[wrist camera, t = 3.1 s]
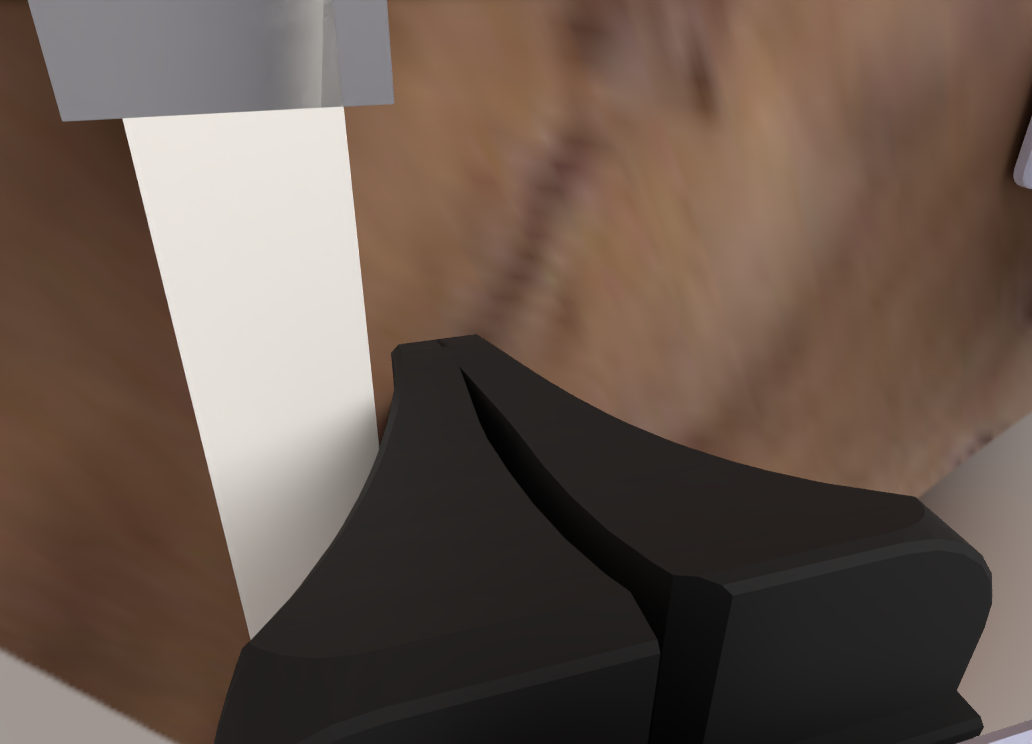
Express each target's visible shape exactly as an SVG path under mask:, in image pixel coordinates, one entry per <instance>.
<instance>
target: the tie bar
mask: <svg viewBox="0 0 1032 744" xmlns="http://www.w3.org/2000/svg"><path fill="white" fill-rule="evenodd" d="M28 3H29V7H30V10H31V14H32V17H33V21H34V24H35V28H36V31H37V35H38V38H39V42H40V45H41V49H42V52H43V56H44V59H45V63H46V66H47V70H48V73H49V77H50V80H51V84H52V87H53V91H54V94H55V98H56V101H57V105H58V108H59V112H60V115H61V119H62V122H63V121H82V120H101V119H120V118H122V119H123V123H124V127H125V131H126V135H127V139H128V143H129V147H130V151H131V155H132V159H133V163H134V168H135V172H136V176H137V180H138V184H139V188H140V192H141V196H142V200H143V204H144V208H145V212H146V216H147V220H148V224H149V229H150V233H151V237H152V241H153V245H154V249H155V253H156V257H157V261H158V265H159V269H160V273H161V277H162V281H163V285H164V290H165V294H166V298H167V302H168V306H169V310H170V314H171V318H172V322H173V326H174V330H175V334H176V338H177V342H178V346H179V351H180V355H181V359H182V363H183V367H184V371H185V375H186V379H187V383H188V387H189V391H190V395H191V399H192V403H193V407H194V412H195V416H196V420H197V424H198V428H199V432H200V436H201V440H202V444H203V448H204V452H205V456H206V460H207V464H208V468H209V473H210V477H211V481H212V485H213V489H214V493H215V497H216V501H217V505H218V509H219V513H220V517H221V521H222V525H223V529H224V534H225V538H226V542H227V546H228V550H229V554H230V558H231V562H232V566H233V570H234V574H235V578H236V582H237V586H238V590H239V595H240V599H241V603H242V607H243V611H244V615H245V619H246V623H247V627H248V631H249V635H250V639H252V638H253V637H254V636H255V635H256V634H257V633H258V632H259V631H260V630H261V629H262V628H263V627H264V625H265V624H266V623H267V622H268V621H269V620H270V619H271V618H272V617H273V616H274V615H275V614H276V613H277V611H278V610H279V609H280V608H281V607H282V606H283V605H284V604H285V603H286V602H287V601H288V600H289V598H290V597H291V596H292V595H293V594H294V592H295V591H296V590H297V589H298V588H299V586H300V585H301V584H302V582H303V581H304V580H305V578H306V577H307V576H308V574H309V573H310V572H311V570H312V569H313V568H314V566H315V565H316V563H317V562H318V561H319V559H320V558H321V557H322V555H323V554H324V553H325V551H326V550H327V549H328V547H329V546H330V544H331V543H332V541H333V540H334V538H335V537H336V535H337V534H338V532H339V530H340V529H341V527H342V526H343V524H344V522H345V520H346V518H347V517H348V515H349V513H350V511H351V509H352V508H353V506H354V504H355V502H356V501H357V499H358V497H359V495H360V493H361V491H362V489H363V486H364V484H365V482H366V480H367V478H368V476H369V473H370V471H371V469H372V466H373V464H374V461H375V459H376V456H377V453H378V451H379V441H378V432H377V422H376V413H375V403H374V393H373V384H372V374H371V365H370V355H369V346H368V336H367V327H366V317H365V307H364V298H363V288H362V279H361V269H360V260H359V250H358V241H357V231H356V221H355V212H354V202H353V193H352V183H351V174H350V164H349V155H348V145H347V136H346V126H345V116H344V107H345V106H364V105H383V104H394V93H393V79H392V65H391V51H390V38H389V24H388V10H387V0H28Z"/></svg>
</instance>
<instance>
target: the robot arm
mask: <svg viewBox="0 0 1032 744" xmlns="http://www.w3.org/2000/svg"><path fill="white" fill-rule="evenodd" d="M1013 177H1014V181H1015V182H1016V184H1017V185H1019V186H1022V187H1025V188H1029V189H1032V117H1031V120H1030V123H1029V126H1028V129H1027V132H1026V135H1025V138H1024V141H1023V144H1022V147H1021V150H1020V153H1019V156H1018V159H1017V162H1016V165H1015V168H1014V174H1013ZM391 357H392V368H393V379H394V393H393V399H392V404H391V409H390V414H389V418H388V422H387V425H386V428H385V432H384V435H383V438H382V441H381V444H380V448H379V451H378V453H377V456H376V459H375V461H374V464H373V466H372V469H371V471H370V473H369V476H368V478H367V480H366V482H365V484H364V486H363V489H362V491H361V493H360V495H359V497H358V499H357V501H356V502H355V504H354V506H353V508H352V509H351V511H350V513H349V515H348V517H347V518H346V520H345V522H344V524H343V526H342V527H341V529H340V530H339V532H338V534H337V535H336V537H335V538H334V540H333V541H332V543H331V544H330V546H329V547H328V549H327V550H326V551H325V553H324V554H323V555H322V557H321V558H320V559H319V561H318V562H317V563H316V565H315V566H314V568H313V569H312V570H311V572H310V573H309V574H308V576H307V577H306V578H305V580H304V581H303V582H302V584H301V585H300V586H299V588H298V589H297V590H296V591H295V592H294V594H293V595H292V596H291V597H290V598H289V600H288V601H287V602H286V603H285V604H284V605H283V606H282V607H281V608H280V609H279V610H278V611H277V613H276V614H275V615H274V616H273V617H272V618H271V619H270V620H269V621H268V622H267V623H266V624H265V625H264V627H263V628H262V629H261V630H260V631H259V632H258V633H257V634H256V635H255V636H254V637H253V638H252V639H251V640H250V641H249V642H248V643H247V644H246V645H245V646H244V647H243V648H242V650H241V653H240V656H239V659H238V662H237V665H236V668H235V671H234V674H233V677H232V680H231V683H230V686H229V689H228V692H227V696H226V699H225V703H224V706H223V710H222V713H221V717H220V720H219V724H218V728H217V732H216V737H215V741H214V744H1032V720H1029V721H1026V722H1023V723H1020V724H1017V725H1013V726H1010V727H1007V728H1004V729H1001V730H998V731H995V732H991V733H988V734H985V735H982V736H979V735H980V733H981V731H982V729H983V727H984V726H983V723H982V720H981V717H980V716H979V715H978V714H977V712H976V711H975V710H974V709H973V708H972V707H971V706H970V705H969V704H968V703H967V701H966V700H965V699H964V698H963V697H962V696H961V695H960V694H959V693H958V692H957V688H958V686H959V684H960V682H961V679H962V677H963V675H964V673H965V670H966V668H967V666H968V664H969V661H970V659H971V657H972V655H973V652H974V650H975V648H976V645H977V643H978V641H979V639H980V637H981V634H982V632H983V630H984V628H985V624H986V621H987V617H988V615H989V611H990V608H991V605H992V573H991V571H990V569H989V567H988V566H987V564H986V562H985V560H984V558H983V556H982V555H981V554H980V553H979V552H978V551H977V550H975V549H974V548H973V547H972V546H971V545H970V544H969V543H967V542H966V541H965V540H964V539H963V538H962V537H961V536H959V535H958V534H957V533H956V532H955V531H954V530H952V529H951V528H950V527H949V526H948V525H947V524H946V523H944V522H943V521H942V520H941V519H940V518H939V517H938V516H937V515H935V514H934V513H933V512H932V511H931V510H930V509H928V508H927V507H926V506H925V505H924V504H923V503H922V502H920V501H919V500H918V499H917V498H915V497H913V496H906V495H900V494H893V493H886V492H880V491H873V490H866V489H860V488H853V487H847V486H840V485H833V484H827V483H822V482H816V481H812V480H807V479H803V478H798V477H794V476H789V475H785V474H780V473H776V472H771V471H767V470H763V469H759V468H755V467H751V466H748V465H744V464H740V463H736V462H733V461H730V460H726V459H723V458H720V457H717V456H714V455H710V454H707V453H704V452H701V451H698V450H695V449H691V448H689V447H686V446H683V445H680V444H677V443H675V442H672V441H669V440H666V439H664V438H662V437H659V436H657V435H654V434H652V433H650V432H647V431H645V430H642V429H640V428H638V427H635V426H633V425H630V424H628V423H626V422H624V421H622V420H619V419H617V418H615V417H613V416H611V415H609V414H607V413H605V412H603V411H601V410H599V409H597V408H596V407H594V406H592V405H590V404H588V403H586V402H584V401H582V400H580V399H578V398H577V397H575V396H573V395H571V394H570V393H568V392H566V391H564V390H563V389H561V388H559V387H558V386H556V385H554V384H553V383H551V382H549V381H548V380H546V379H545V378H543V377H541V376H540V375H538V374H536V373H535V372H533V371H532V370H530V369H529V368H527V367H526V366H524V365H523V364H521V363H520V362H518V361H517V360H515V359H513V358H512V357H510V356H509V355H507V354H506V353H504V352H503V351H501V350H500V349H498V348H497V347H495V346H494V345H492V344H491V343H489V342H488V341H486V340H485V339H483V338H481V337H480V336H478V335H476V334H475V335H467V336H460V337H452V338H445V339H437V340H430V341H422V342H415V343H407V344H399V345H398V346H397V347H396V348H395V349H394V350H393V351H392V352H391ZM976 736H979V737H976ZM974 737H976V738H974Z"/></svg>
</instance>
